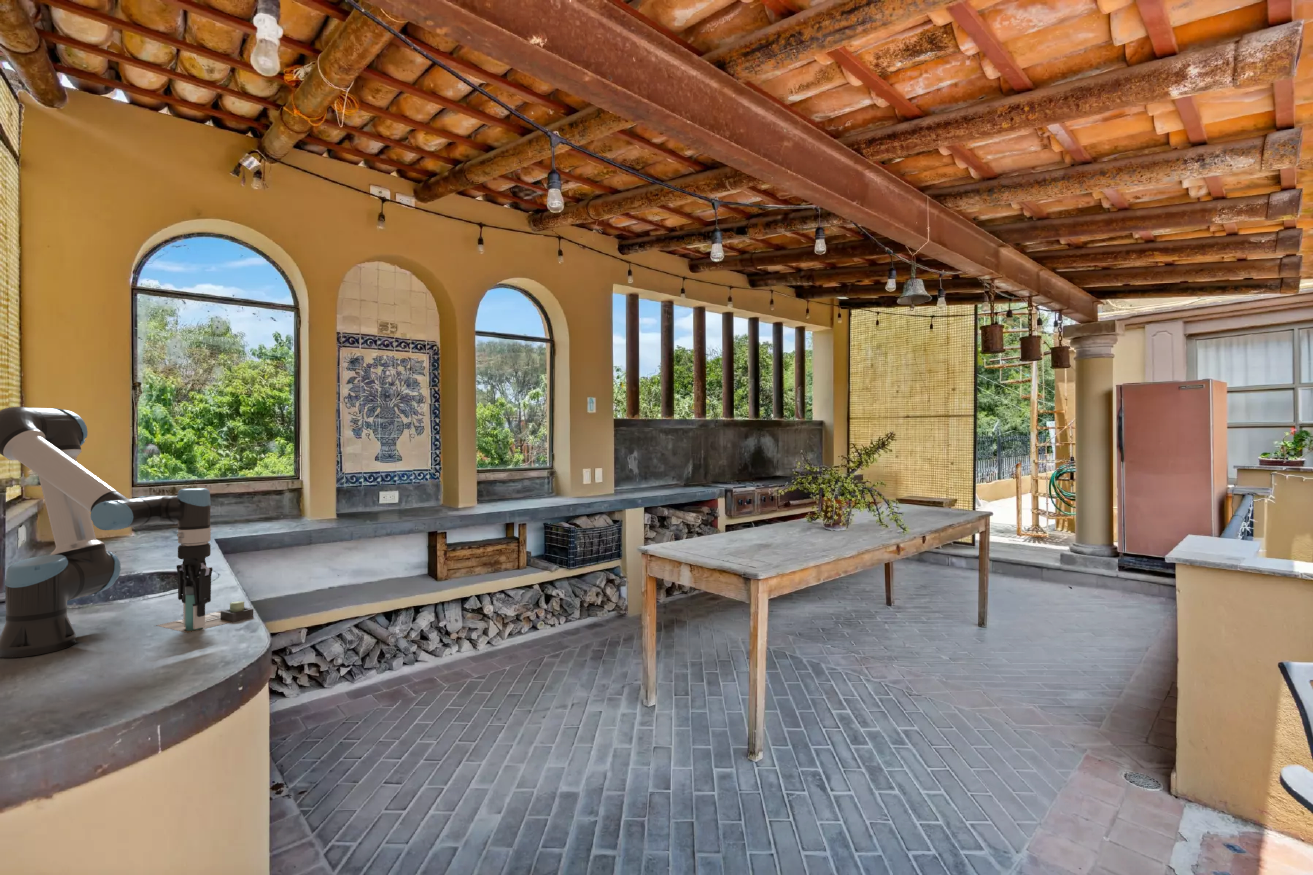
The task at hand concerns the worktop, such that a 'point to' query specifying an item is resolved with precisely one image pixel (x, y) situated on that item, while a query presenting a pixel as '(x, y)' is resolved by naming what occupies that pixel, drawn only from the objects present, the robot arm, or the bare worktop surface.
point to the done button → (237, 606)
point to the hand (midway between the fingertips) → (194, 626)
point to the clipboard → (213, 619)
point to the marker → (189, 608)
